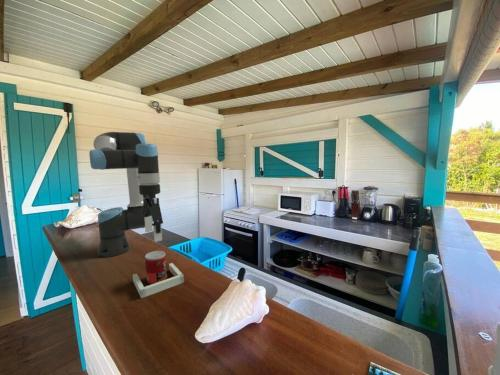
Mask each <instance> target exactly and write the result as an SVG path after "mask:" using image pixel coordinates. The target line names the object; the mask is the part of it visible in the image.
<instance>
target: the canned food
mask: <svg viewBox="0 0 500 375" xmlns="http://www.w3.org/2000/svg"><path fill="white" fill-rule="evenodd" d="M144 264H145V265H144V266H145V275H146V276H145V277H146V282H147V283H148V284H149V285H152V284H155V283H158V282H160V281H163V280H166V279H168V274H167V273H168V272H167V271H168V269H167V258H166V252H165V251H163V250H155V251H153V250H152V251H150V252H148V253H146V254H145V255H144Z"/></svg>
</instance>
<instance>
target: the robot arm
mask: <svg viewBox="0 0 500 375" xmlns="http://www.w3.org/2000/svg"><path fill="white" fill-rule="evenodd" d="M157 146H158V145H156V144H155V143H148V142H147V139H146V136H145V135H144V134H143V133H140V132H128V131H127V132H126V131H125V132H123V131H122V132H121V131H108V132H104V133H101V134H99V135H97V136H96V137H94V140H93V148H94V149H90V150H89V153H88V156H89V162H90V163H89V164H90V167H91V169H93V170H102V171H103V170H118V169H119V170H120V169H126V178H127V187H128V198H129V203H128V204H127V205H126V209H124V208H123V207H122V206H120V207H119V206H118V207H113V208H112V207H111V208H108V209H104V210H102V211H100V212H99V213H97V214H98V215H97V223H98V231H99V242H98V246H97V256H98V257H101V258H109V257H115V256H119V255H123V254H125V253H126V252H128V251H129V250H131V244H130V241H129V240H128V238H127V236H126V231H131V230H137V229H144V228H145V233H151V232H153V240H154V241H153V242H154V243H157V242H161V241H163V232H162V224H164V221H163V215H162V210H161V206H160V199H159V197H156V195H158V194H160V193H161V185H160V184H159V183H161V179H160V178H161V177H160V169H159V167H160V166H159V152H158V147H157Z"/></svg>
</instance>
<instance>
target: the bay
mask: <svg viewBox="0 0 500 375" xmlns="http://www.w3.org/2000/svg"><path fill="white" fill-rule="evenodd" d="M168 266H169V267H168V271H170V273H171V274H172V275H173V276H172V277H170V278H166V280H163V281H160V282H158V283H155V284H149V285H146V286H144V284H143V283H142V281H141V279H140V277H139V276H138V274H137V273H134V274H132V281H133V285H134V286H135V288H136V290H137V292H138V294H139V297H140V299H143V298H146V297H149V296H151V295H154V294H157V293H160V292H162V291H165V290H168V289H170V288H173V287H175V286H179V285H181V284H184V283H185V275H184V274H183V272H181V271H180V270H179V268H178V267H177V266H176V265H175V264H174V263H173V262H171V263H168Z"/></svg>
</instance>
